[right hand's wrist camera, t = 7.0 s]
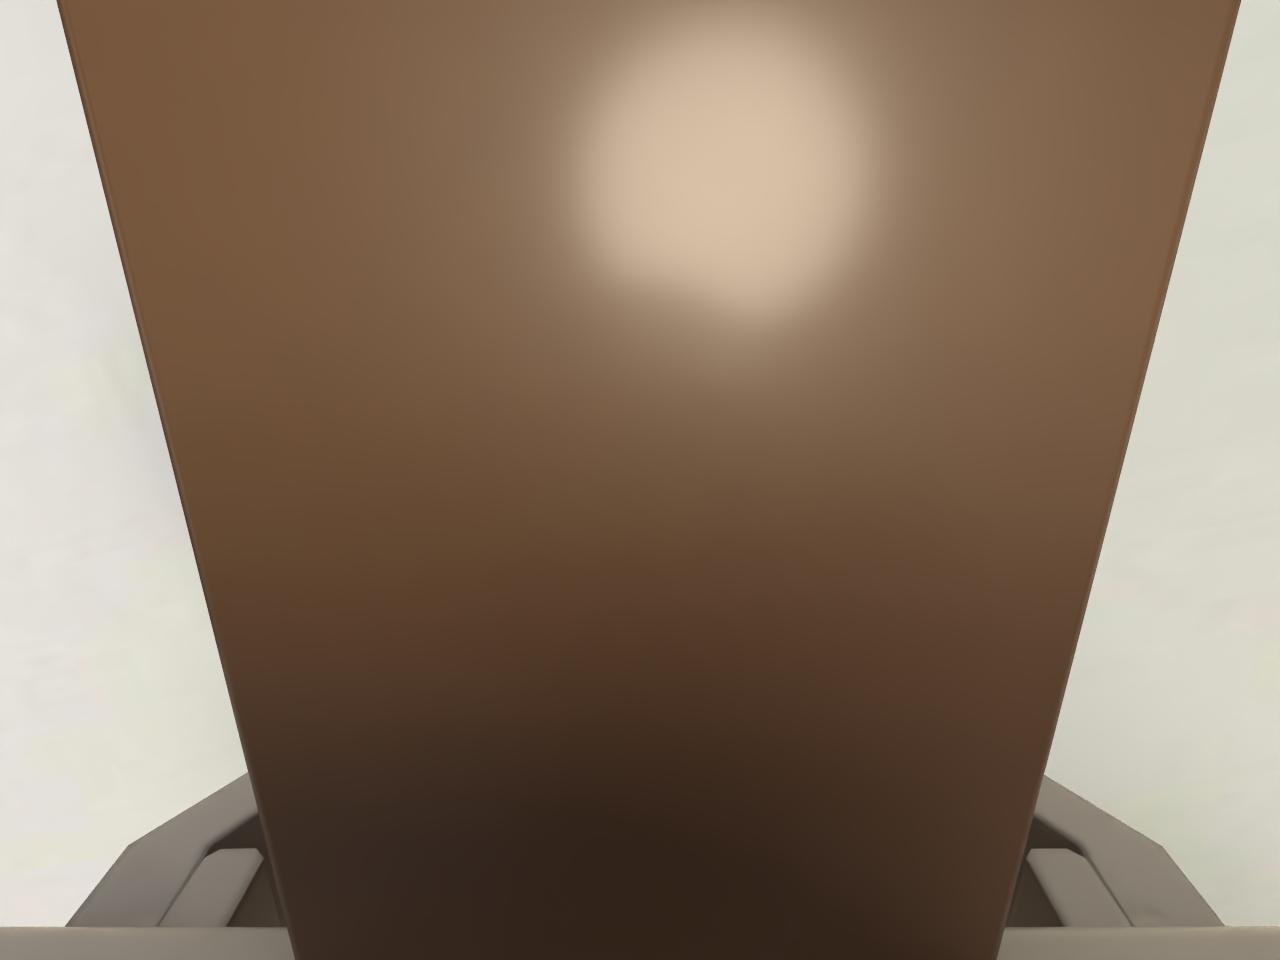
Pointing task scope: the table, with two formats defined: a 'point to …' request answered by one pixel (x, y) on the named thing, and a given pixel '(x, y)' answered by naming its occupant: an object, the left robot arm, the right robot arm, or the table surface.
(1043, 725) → the bar
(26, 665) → the table surface
